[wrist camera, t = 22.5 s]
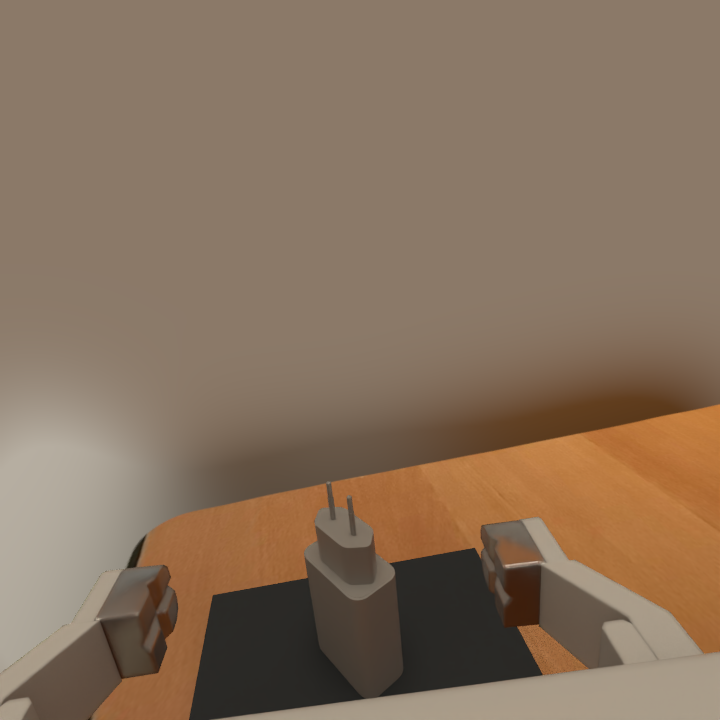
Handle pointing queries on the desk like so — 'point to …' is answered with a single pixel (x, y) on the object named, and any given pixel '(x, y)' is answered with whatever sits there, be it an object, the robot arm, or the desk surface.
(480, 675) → the desk mat
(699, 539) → the desk surface
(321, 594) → the power adapter
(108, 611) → the robot arm
